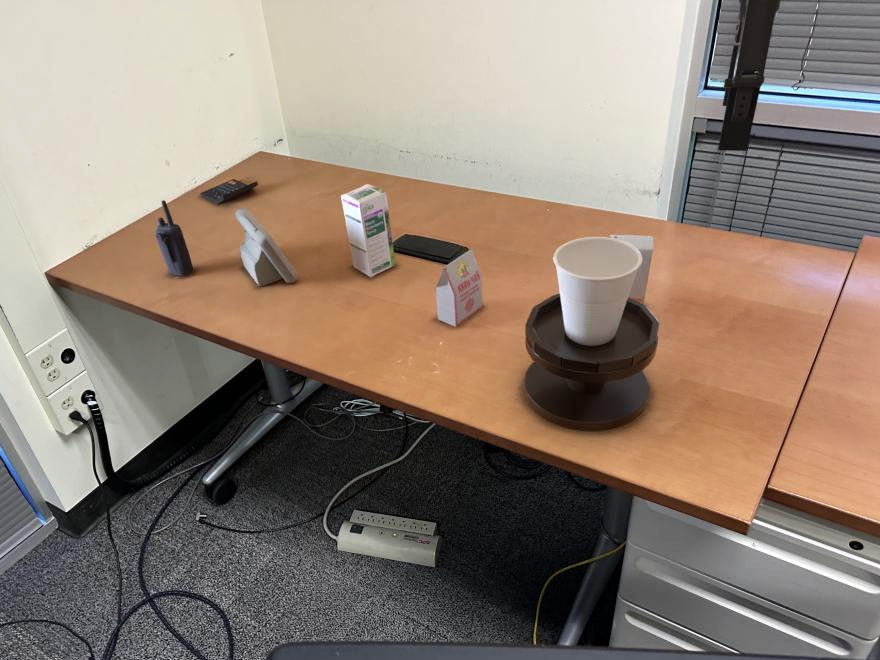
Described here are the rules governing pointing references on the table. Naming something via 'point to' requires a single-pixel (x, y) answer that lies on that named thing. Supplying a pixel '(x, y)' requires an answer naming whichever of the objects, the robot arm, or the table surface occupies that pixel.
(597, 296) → the cup
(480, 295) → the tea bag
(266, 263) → the digital clock
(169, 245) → the two-way radio
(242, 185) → the calculator
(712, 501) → the table surface
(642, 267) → the cosmetic box
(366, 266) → the syrup box
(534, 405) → the cup stand
